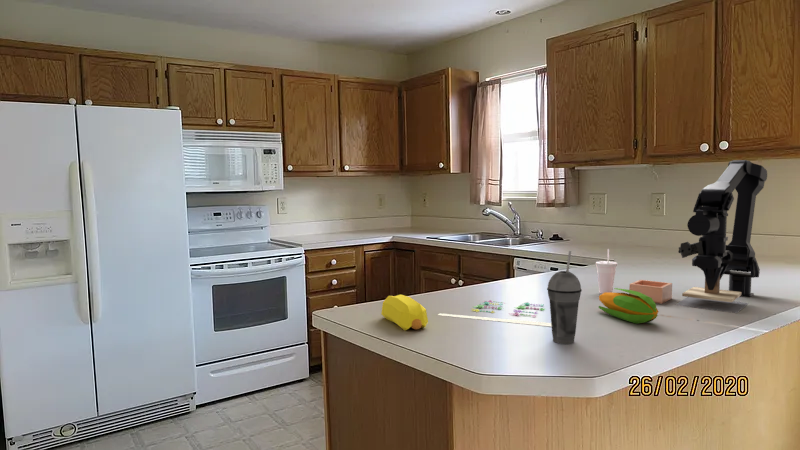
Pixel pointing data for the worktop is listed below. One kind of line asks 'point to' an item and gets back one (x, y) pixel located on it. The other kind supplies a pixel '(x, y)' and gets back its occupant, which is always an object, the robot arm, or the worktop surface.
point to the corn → (629, 306)
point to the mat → (712, 304)
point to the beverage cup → (564, 304)
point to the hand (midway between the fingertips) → (712, 289)
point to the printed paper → (504, 319)
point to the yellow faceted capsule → (404, 312)
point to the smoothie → (606, 275)
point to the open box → (653, 290)
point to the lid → (712, 293)
